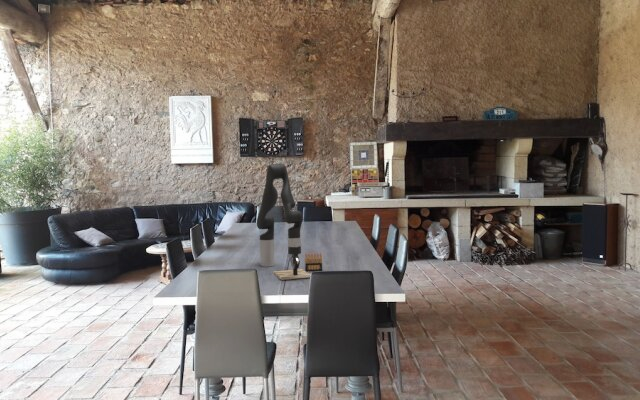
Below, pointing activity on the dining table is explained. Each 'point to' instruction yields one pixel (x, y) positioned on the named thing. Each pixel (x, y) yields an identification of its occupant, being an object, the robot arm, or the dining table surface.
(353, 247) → the dining table surface
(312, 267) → the ammunition clip
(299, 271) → the oak board
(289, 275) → the birch plank
